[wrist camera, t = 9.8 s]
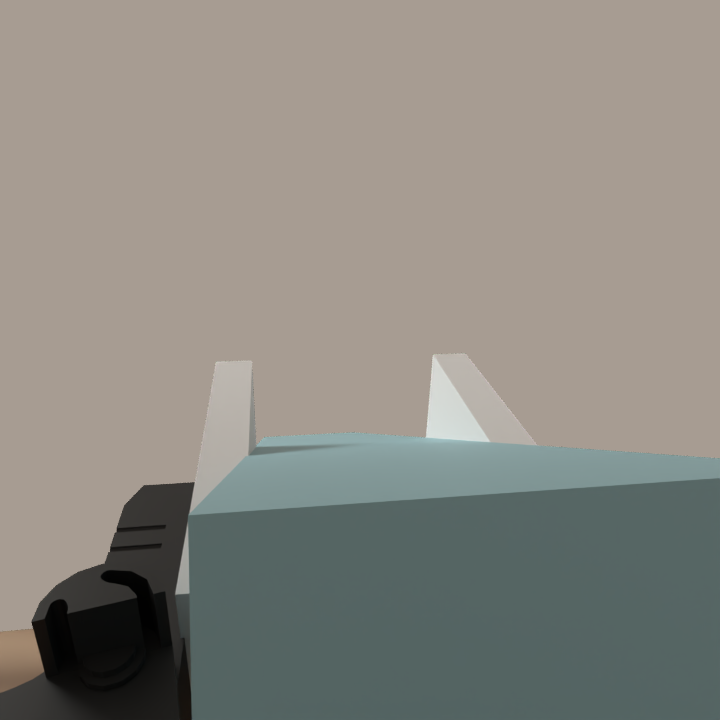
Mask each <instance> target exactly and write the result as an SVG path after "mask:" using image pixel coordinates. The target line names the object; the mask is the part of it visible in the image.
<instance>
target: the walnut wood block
mask: <svg viewBox="0 0 720 720" xmlns="http://www.w3.org/2000/svg"><path fill="white" fill-rule="evenodd" d="M43 672H44V668H43V664H42V661H41V657H40V653H39V649H38V645H37V641H36V638H35V634H34V630H33V629H25V630H15V631H3V632H0V693H1V692H4V691H7V690H9V689H12V688H14V687H17V686H19V685H21V684H23V683H25V682H28V681H30V680H32V679H34V678H35V677H37V676H38V675H40V674H41V673H43Z"/></svg>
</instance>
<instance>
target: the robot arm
mask: <svg viewBox="0 0 720 720" xmlns="http://www.w3.org/2000/svg"><path fill="white" fill-rule="evenodd" d="M252 371H253V370H252V361H225V362H216V365H215V371H214V376H213V382H212V388H211V393H210V399H209V405H208V411H207V416H206V422H205V427H204V434H203V439H202V444H201V450H200V456H199V462H198V467H197V473H196V479H195V482H192V483H177V484H161V485H144V486H143V487H142V488H141V489H140V490H139V491H138V492H137V493H136V494H135V495H134V496H133V497H132V498H131V499H130V500H129V501H128V502H127V503H126V504H125V505H124V508H123V511H122V514H121V517H120V520H119V523H118V526H117V533H115V535H114V538H113V541H112V544H111V547H110V552H108V555H107V559H106V561H105V564H101V565H98V566H95V567H92V568H89V569H86V570H83V571H80V572H77V573H76V574H74V575H73V576H71V577H69V578H68V579H66V580H64V581H63V582H61V583H59V584H58V585H56V586H55V587H54V588H53V589H52V590H51V591H50V592H49V593H48V595H47V596H46V597H45V598H44V599H43V600H42V601H41V602H40V603H39V606H38V608H37V610H36V612H35V615H34V617H33V619H32V626H33V630H34V634H35V638H36V641H37V645H38V649H39V653H40V657H41V661H42V664H43V668H44V672H43V673H41V674H40V675H38V676H37V677H35V678H34V679H32V680H30V681H28V682H25V683H23V684H21V685H19V686H17V687H14V688H12V689H9V690H7V691H4V692H1V693H0V720H192V702H191V650H190V598H189V547H188V515H189V514H190V513H191V512H192V511H193V510H194V509H195V508H196V507H197V505H198V504H199V503H200V502H201V501H202V500H203V499H204V498H205V497H206V496H207V495H208V494H209V493H210V492H211V491H212V490H213V489H214V488H215V487H216V486H217V485H218V484H219V483H220V482H221V481H222V480H223V479H224V478H225V477H226V476H227V475H228V474H229V473H230V472H231V471H232V470H233V469H234V468H235V467H236V466H237V465H238V464H239V463H240V462H241V461H242V460H243V459H244V458H245V457H246V456H249V455H250V453H251V452H252V451H253V450H254V449H255V448H256V430H255V411H254V391H253V390H254V389H253V372H252ZM426 438H438V439H452V440H466V441H481V442H495V443H509V444H523V445H537V444H536V443H535V441H534V440H533V439H532V438H531V436H530V435H529V434H528V433H527V431H526V430H525V429H524V427H523V426H522V425H521V424H520V423H519V421H518V420H517V418H516V417H515V416H514V415H513V413H512V412H511V411H510V410H509V408H508V407H507V406H506V405H505V403H504V402H503V401H502V399H501V398H500V397H499V396H498V394H497V393H496V392H495V390H494V389H493V388H492V387H491V385H490V384H489V383H488V381H487V380H486V379H485V378H484V376H483V375H482V374H481V373H480V371H479V370H478V369H477V368H476V366H475V365H474V364H473V362H472V361H471V360H470V358H469V357H468V356H467V355H466V354H465V353H462V354H434V355H433V362H432V373H431V385H430V397H429V409H428V421H427V433H426ZM537 446H538V445H537Z"/></svg>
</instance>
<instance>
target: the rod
mask: <svg viewBox="0 0 720 720" xmlns="http://www.w3.org/2000/svg"><path fill="white" fill-rule="evenodd" d="M188 547H189V598H190V650H191V702H192V720H720V458H705V457H690V456H678V455H664V454H649V453H636V452H621V451H607V450H592V449H579V448H565V447H550V446H537V445H523V444H509V443H495V442H481V441H466V440H452V439H438V438H422V437H410V436H396V435H382V434H367V433H354V432H352V433H333V434H316V435H315V434H314V435H295V436H276V437H264V438H263V439H262V440H261V442H259V443H258V444H257V445H256V448H255V449H254V450H253V451H252V452H251V453H250V455H249V456H246V457H245V458H244V459H243V460H242V461H241V462H240V463H239V464H238V465H237V466H236V467H235V468H234V469H233V470H232V471H231V472H230V473H229V474H228V475H227V476H226V477H225V478H224V479H223V480H222V481H221V482H220V483H219V484H218V485H217V486H216V487H215V488H214V489H213V490H212V491H211V492H210V493H209V494H208V495H207V496H206V497H205V498H204V499H203V500H202V501H201V502H200V503H199V504H198V505H197V507H196V508H195V509H194V510H193V511H192V512H191V513H190V514H189V515H188Z"/></svg>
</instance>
